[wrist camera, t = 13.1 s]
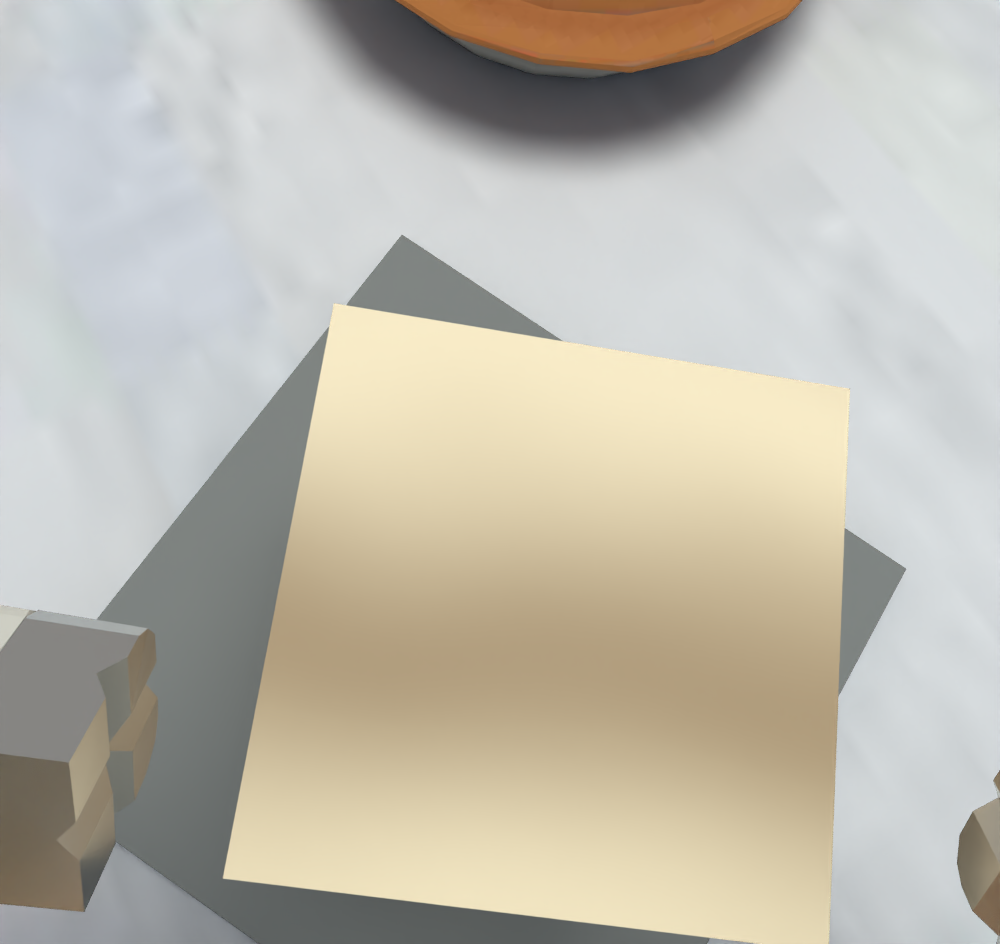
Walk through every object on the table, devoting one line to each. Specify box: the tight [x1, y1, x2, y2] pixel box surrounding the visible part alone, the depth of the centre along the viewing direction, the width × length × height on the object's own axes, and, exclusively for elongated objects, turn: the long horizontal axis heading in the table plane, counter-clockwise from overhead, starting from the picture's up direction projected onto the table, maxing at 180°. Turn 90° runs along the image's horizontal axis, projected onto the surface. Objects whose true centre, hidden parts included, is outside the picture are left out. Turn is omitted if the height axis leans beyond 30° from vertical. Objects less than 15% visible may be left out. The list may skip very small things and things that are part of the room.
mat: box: [97, 235, 906, 944], centre depth 21 cm, size 15×15×1 cm
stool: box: [223, 303, 850, 944], centre depth 16 cm, size 6×6×11 cm
